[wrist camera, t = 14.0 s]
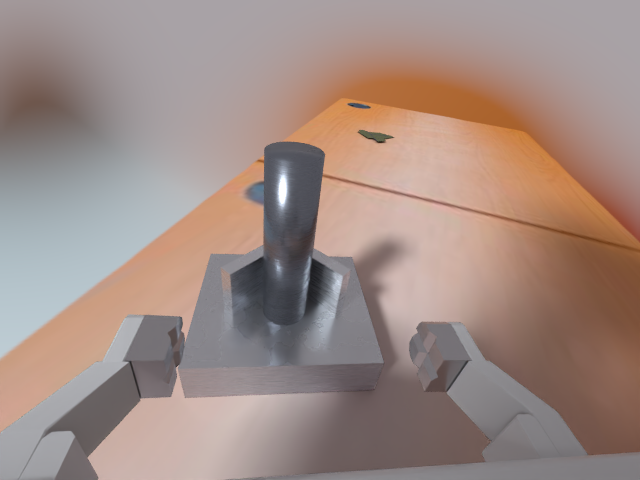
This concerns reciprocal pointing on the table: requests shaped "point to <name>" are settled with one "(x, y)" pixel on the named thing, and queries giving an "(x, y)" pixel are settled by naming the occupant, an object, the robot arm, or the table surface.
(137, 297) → the table surface
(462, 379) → the robot arm
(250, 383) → the v block
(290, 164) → the steel axle
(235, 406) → the table surface
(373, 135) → the olive green flat piece
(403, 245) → the table surface
